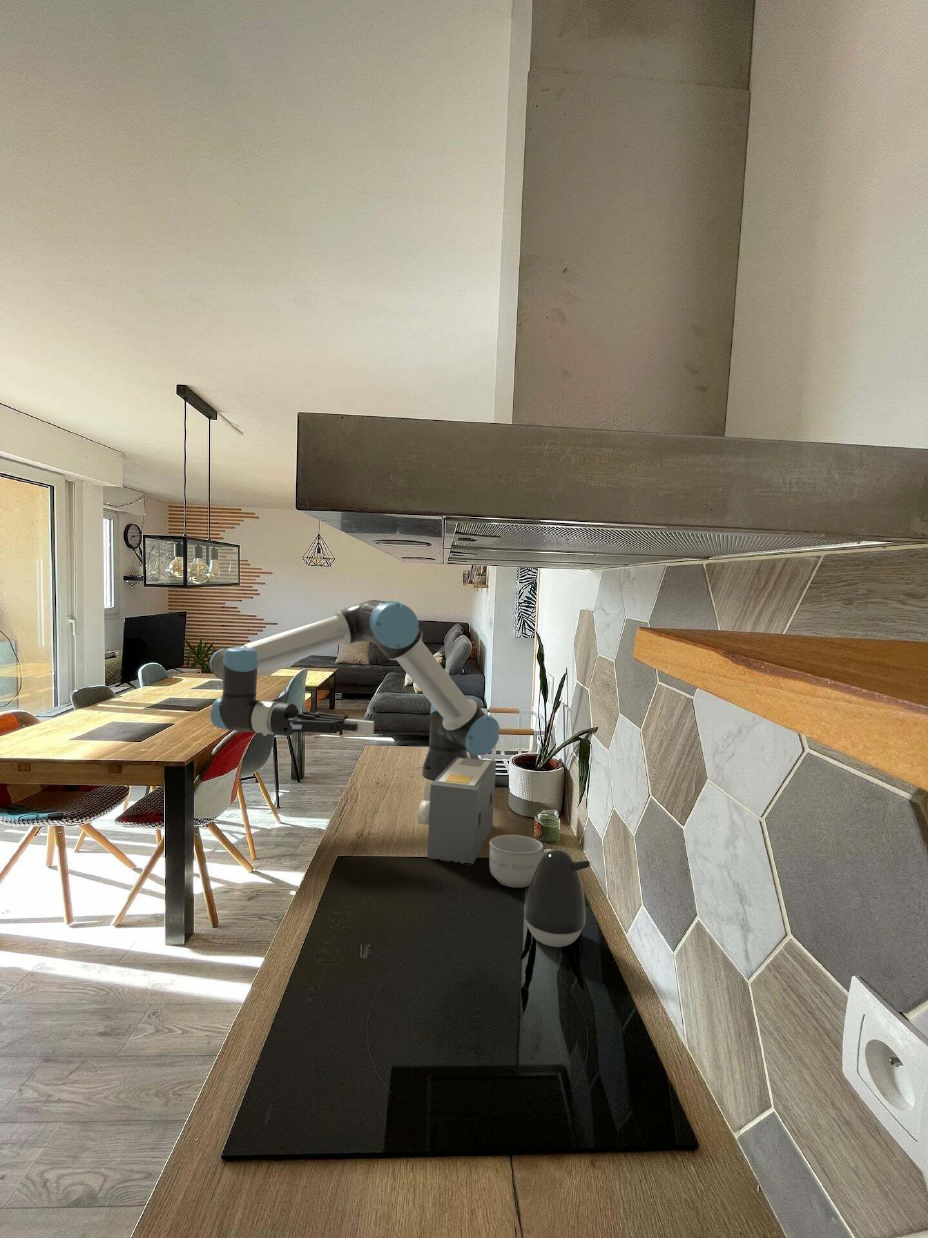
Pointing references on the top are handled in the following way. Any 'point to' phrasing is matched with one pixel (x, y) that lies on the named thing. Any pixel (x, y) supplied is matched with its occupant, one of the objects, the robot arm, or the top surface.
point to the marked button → (424, 812)
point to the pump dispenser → (556, 900)
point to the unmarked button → (427, 791)
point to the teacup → (515, 859)
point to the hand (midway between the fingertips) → (372, 727)
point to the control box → (461, 810)
